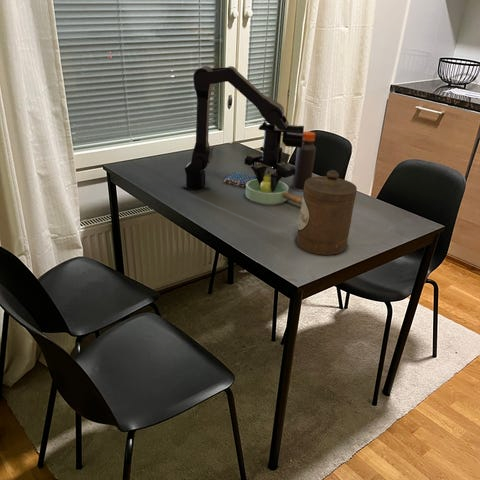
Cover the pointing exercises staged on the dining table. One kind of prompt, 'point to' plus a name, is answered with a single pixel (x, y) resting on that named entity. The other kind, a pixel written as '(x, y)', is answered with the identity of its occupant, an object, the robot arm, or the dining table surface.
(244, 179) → the woven mat
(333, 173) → the wooden container
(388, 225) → the dining table surface
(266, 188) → the pear
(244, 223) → the dining table surface
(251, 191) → the pan
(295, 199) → the pan handle
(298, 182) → the bottle
